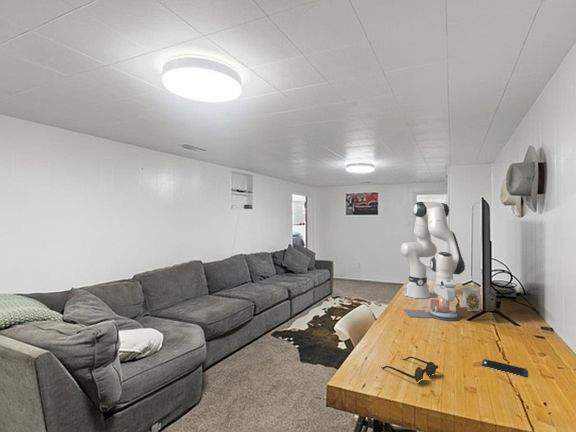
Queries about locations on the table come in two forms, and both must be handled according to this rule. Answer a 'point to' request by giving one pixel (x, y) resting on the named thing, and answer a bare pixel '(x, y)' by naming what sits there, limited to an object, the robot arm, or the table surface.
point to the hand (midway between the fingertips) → (443, 305)
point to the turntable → (449, 313)
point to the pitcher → (471, 298)
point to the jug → (438, 304)
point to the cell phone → (505, 367)
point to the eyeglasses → (418, 369)
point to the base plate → (444, 318)
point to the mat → (417, 313)
